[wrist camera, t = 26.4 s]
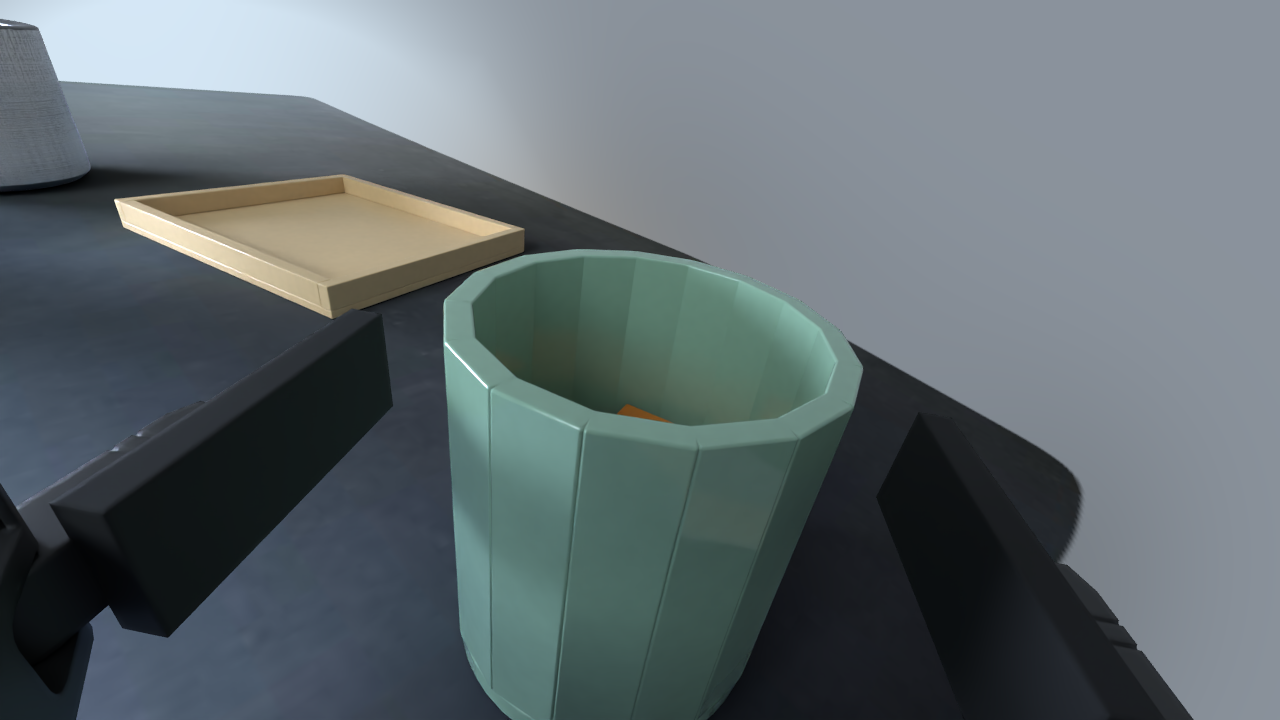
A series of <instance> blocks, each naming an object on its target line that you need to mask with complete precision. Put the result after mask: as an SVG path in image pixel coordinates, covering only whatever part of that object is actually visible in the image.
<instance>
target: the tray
mask: <svg viewBox="0 0 1280 720" xmlns="http://www.w3.org/2000/svg"><path fill="white" fill-rule="evenodd" d="M114 201H115V204H116V207H117V210H118V212H119V215H120V218H121V220H122V224H123V227H124V228H127V229H129V230H131V231H133V232H136V233H138V234H140V235H142V236H145V237H147V238H149V239H152V240H154V241H156V242H158V243H161V244H163V245H165V246H168V247H170V248H172V249H174V250H177V251H179V252H181V253H183V254H186V255H188V256H190V257H193V258H195V259H197V260H199V261H202V262H204V263H206V264H208V265H211V266H213V267H215V268H218V269H220V270H222V271H224V272H227V273H229V274H231V275H233V276H236V277H238V278H240V279H243V280H245V281H247V282H249V283H252V284H254V285H256V286H258V287H261V288H263V289H265V290H268V291H270V292H272V293H274V294H277V295H279V296H281V297H283V298H286V299H288V300H290V301H293V302H295V303H297V304H299V305H302V306H304V307H306V308H309V309H311V310H313V311H315V312H318V313H320V314H322V315H324V316H327V317H329V318H331V319H334V318H337V317H339V316H341V315H343V314H344V313H346V312H347V311H349V310H350V309H357V310H360V309H362V308H365V307H368V306H371V305H374V304H377V303H380V302H382V301H385V300H388V299H391V298H394V297H397V296H399V295H402V294H405V293H408V292H411V291H414V290H417V289H419V288H422V287H425V286H428V285H431V284H434V283H436V282H439V281H442V280H445V279H448V278H451V277H454V276H456V275H459V274H462V273H465V272H468V271H471V270H474V269H476V268H479V267H482V266H485V265H488V264H491V263H493V262H496V261H499V260H502V259H505V258H508V257H511V256H513V255H516V254H519V253H522V252H524V232H525V229H523V228H520V227H516V226H513V225H510V224H506V223H503V222H500V221H497V220H493V219H490V218H487V217H483V216H480V215H477V214H473V213H470V212H467V211H463V210H460V209H457V208H454V207H450V206H447V205H444V204H440V203H437V202H434V201H430V200H427V199H424V198H420V197H417V196H414V195H411V194H407V193H404V192H401V191H397V190H394V189H391V188H387V187H384V186H381V185H377V184H374V183H371V182H368V181H364V180H361V179H358V178H354V177H351V176H347V175H344V174H343V175H334V176H325V177H315V178H306V179H297V180H288V181H278V182H269V183H260V184H251V185H241V186H232V187H223V188H213V189H204V190H195V191H186V192H176V193H167V194H158V195H149V196H139V197H130V198H121V199H114Z"/></svg>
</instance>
